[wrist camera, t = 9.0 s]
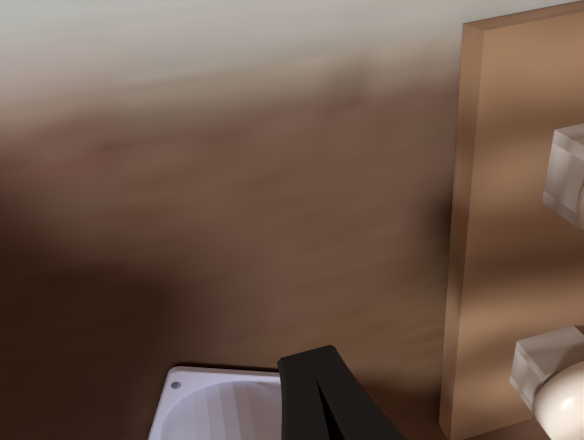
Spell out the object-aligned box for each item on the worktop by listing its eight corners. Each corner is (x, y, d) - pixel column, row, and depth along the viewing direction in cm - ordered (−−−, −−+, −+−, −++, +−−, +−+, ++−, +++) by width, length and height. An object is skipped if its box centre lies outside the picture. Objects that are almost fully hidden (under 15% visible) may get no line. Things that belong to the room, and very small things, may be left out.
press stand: (583, 380, 35) (628, 429, 31) (438, 424, 33) (469, 480, 30) (707, -25, 20) (813, -13, 17) (463, 23, 19) (527, 46, 16)
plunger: (573, 374, 31) (625, 431, 27) (500, 396, 30) (544, 457, 27) (590, 316, 28) (650, 372, 25) (510, 339, 27) (560, 399, 24)
